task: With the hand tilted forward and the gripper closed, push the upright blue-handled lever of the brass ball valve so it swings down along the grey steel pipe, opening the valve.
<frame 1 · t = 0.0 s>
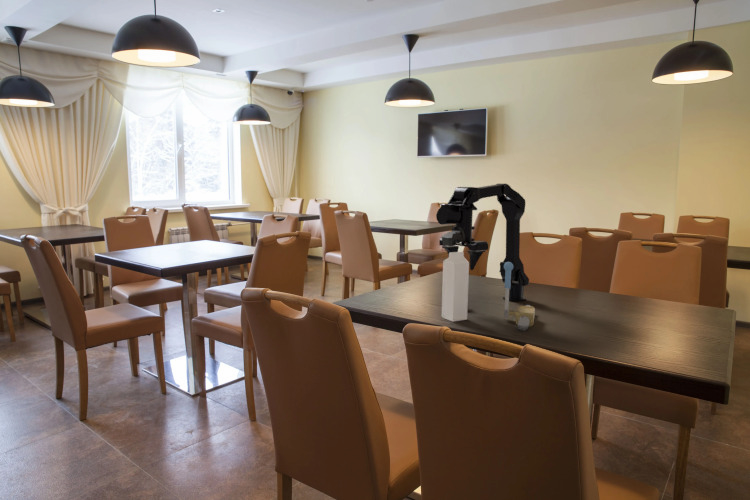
hand: (462, 268, 174), 15 cm above the table, tool pointing down, fingers open, 9 cm apart
milk: (454, 319, 164), on the table
valve: (506, 320, 162), on the table
lever: (507, 289, 161), point 10 cm above the table, hinge at 0.0°
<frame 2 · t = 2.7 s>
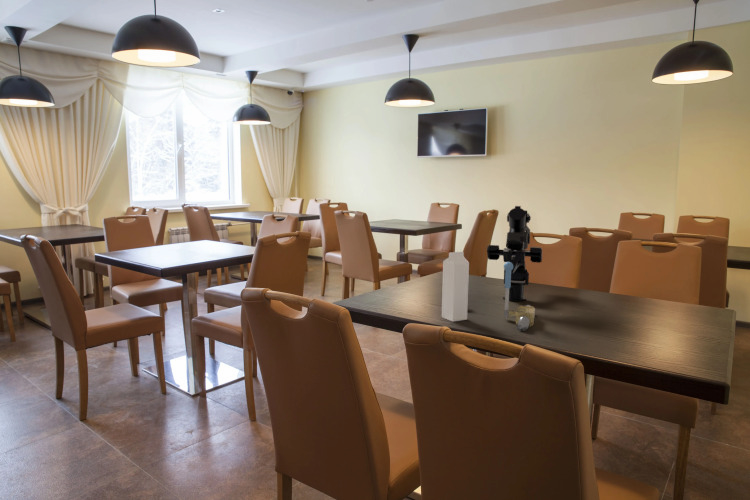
hand: (511, 272, 173), 13 cm above the table, tool tilted 45°, fingers closed
nothing on the table moved.
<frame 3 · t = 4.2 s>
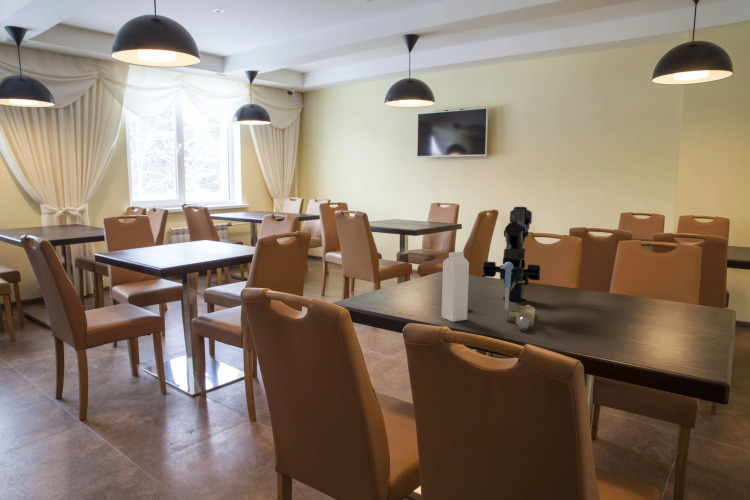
hand: (508, 291, 166), 9 cm above the table, tool tilted 45°, fingers closed
nothing on the table moved.
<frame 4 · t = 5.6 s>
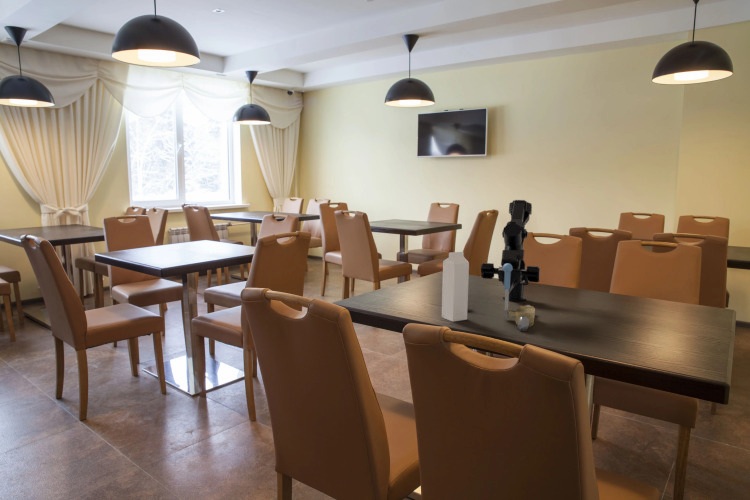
hand: (507, 293, 161), 9 cm above the table, tool tilted 45°, fingers closed, pressing on lever
lever: (507, 290, 160), point 10 cm above the table, hinge at 8.7°, touching gripper
everything else where it was.
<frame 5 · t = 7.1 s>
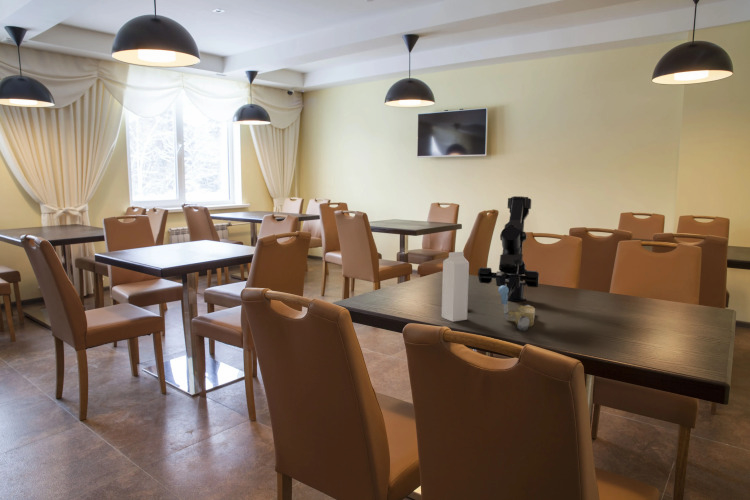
hand: (505, 299, 156), 8 cm above the table, tool tilted 45°, fingers closed, pressing on lever
lever: (504, 301, 156), point 7 cm above the table, hinge at 50.6°, touching gripper
everything else where it was.
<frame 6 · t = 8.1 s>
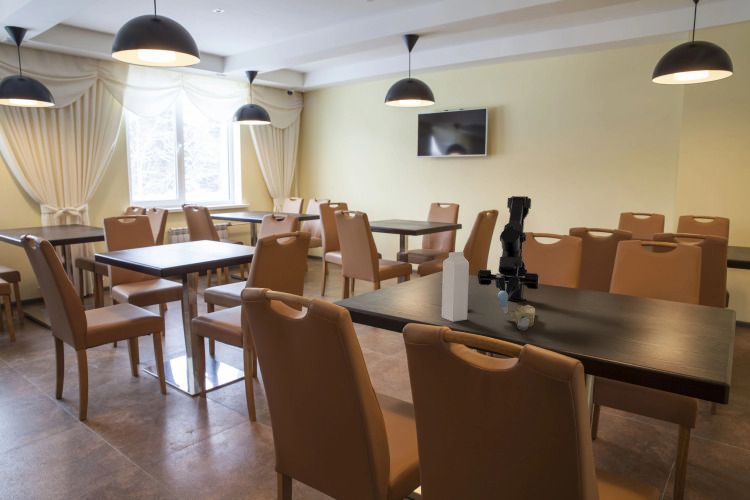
hand: (505, 301, 156), 7 cm above the table, tool tilted 45°, fingers closed, pressing on lever
lever: (504, 304, 156), point 7 cm above the table, hinge at 57.2°, touching gripper
everything else where it was.
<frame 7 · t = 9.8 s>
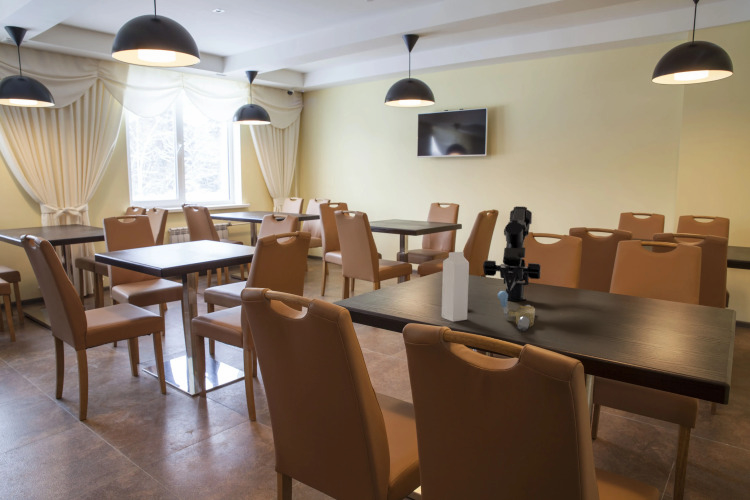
hand: (509, 290, 166), 9 cm above the table, tool tilted 45°, fingers closed
lever: (504, 304, 156), point 7 cm above the table, hinge at 57.2°
everything else where it was.
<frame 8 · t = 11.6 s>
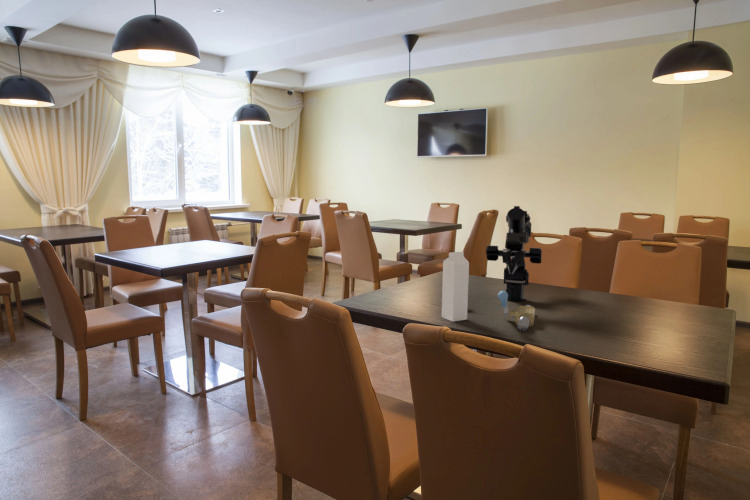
hand: (511, 273, 170), 14 cm above the table, tool tilted 45°, fingers closed
nothing on the table moved.
at the end: lever at +57° (first picture: +0°); lever tilted 57° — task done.
